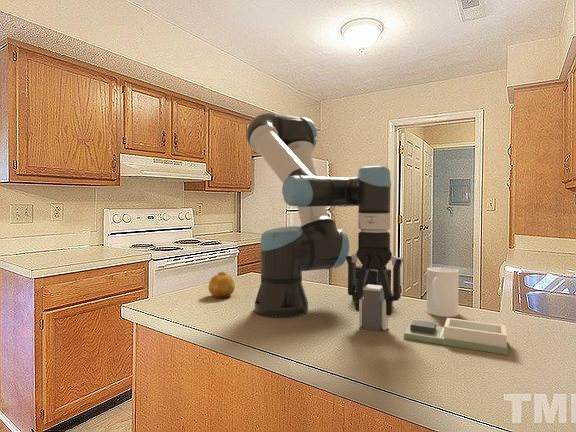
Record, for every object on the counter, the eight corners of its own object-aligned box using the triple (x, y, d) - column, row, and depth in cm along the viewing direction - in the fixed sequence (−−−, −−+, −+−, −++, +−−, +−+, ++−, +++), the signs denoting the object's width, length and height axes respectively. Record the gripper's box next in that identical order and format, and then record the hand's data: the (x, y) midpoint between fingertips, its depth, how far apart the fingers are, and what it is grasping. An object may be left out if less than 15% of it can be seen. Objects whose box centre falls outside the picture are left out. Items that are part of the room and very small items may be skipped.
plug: (363, 328, 90) (363, 287, 89) (367, 323, 93) (367, 284, 93) (379, 331, 88) (379, 289, 88) (383, 326, 91) (383, 285, 91)
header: (443, 338, 80) (444, 326, 80) (446, 328, 86) (447, 317, 86) (506, 347, 74) (506, 335, 74) (504, 336, 81) (505, 325, 81)
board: (404, 338, 83) (404, 326, 83) (410, 327, 91) (410, 316, 90) (507, 355, 74) (507, 342, 74) (505, 341, 81) (505, 329, 81)
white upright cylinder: (445, 322, 95) (446, 275, 94) (414, 314, 101) (414, 270, 100) (464, 312, 103) (464, 269, 102) (434, 306, 109) (434, 265, 108)
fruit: (225, 284, 128) (217, 266, 124) (242, 289, 124) (235, 271, 120) (209, 300, 123) (200, 282, 119) (226, 306, 118) (218, 288, 114)
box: (391, 303, 112) (392, 269, 112) (376, 307, 108) (377, 271, 108) (366, 296, 121) (366, 264, 120) (351, 299, 117) (351, 266, 117)
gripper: (333, 230, 91) (333, 325, 91) (409, 233, 82) (409, 337, 83) (343, 228, 97) (343, 316, 98) (415, 231, 89) (414, 327, 90)
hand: (373, 326), depth 91 cm, fingers open, 5 cm apart
